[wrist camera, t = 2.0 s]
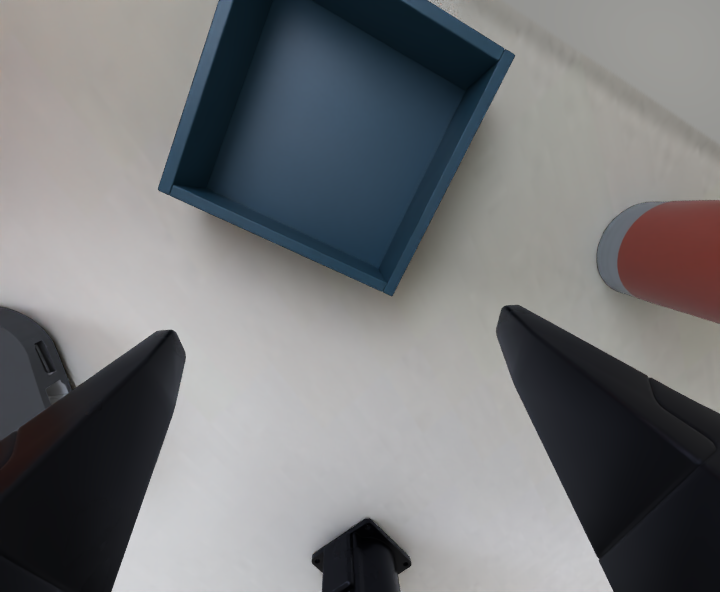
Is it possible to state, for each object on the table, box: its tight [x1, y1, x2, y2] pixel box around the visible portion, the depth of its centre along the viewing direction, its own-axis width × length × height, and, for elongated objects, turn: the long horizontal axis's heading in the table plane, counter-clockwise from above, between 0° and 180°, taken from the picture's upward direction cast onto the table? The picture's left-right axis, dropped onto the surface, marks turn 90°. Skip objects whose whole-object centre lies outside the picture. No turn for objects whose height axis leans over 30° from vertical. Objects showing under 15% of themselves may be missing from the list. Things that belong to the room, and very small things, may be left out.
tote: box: [158, 0, 515, 296], centre depth 19 cm, size 13×13×5 cm
